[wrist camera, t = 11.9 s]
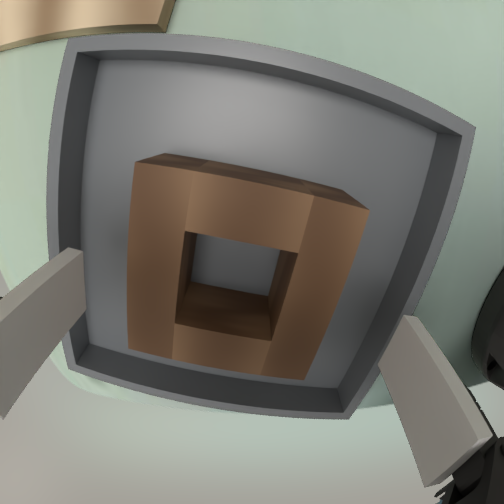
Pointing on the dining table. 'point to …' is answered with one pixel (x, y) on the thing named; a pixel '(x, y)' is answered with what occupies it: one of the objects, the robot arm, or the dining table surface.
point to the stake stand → (78, 19)
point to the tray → (257, 157)
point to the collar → (244, 230)
